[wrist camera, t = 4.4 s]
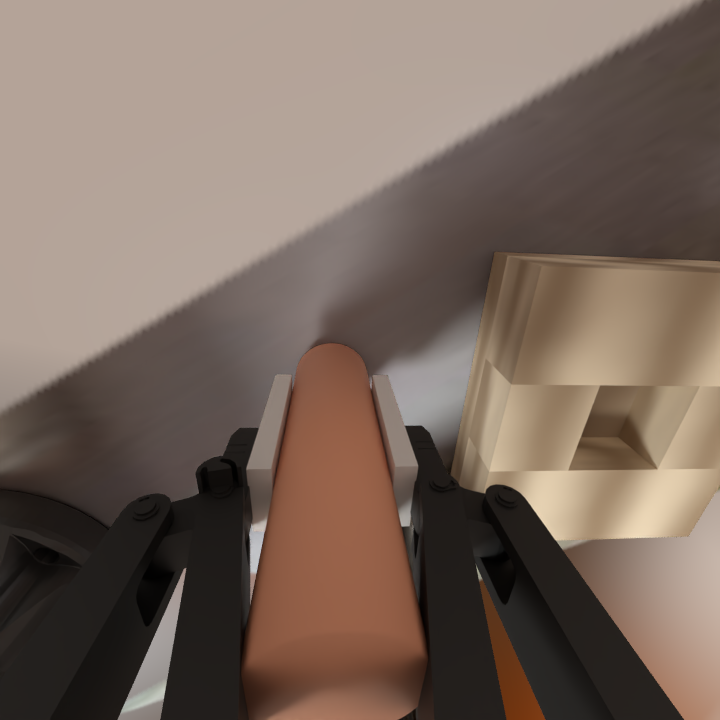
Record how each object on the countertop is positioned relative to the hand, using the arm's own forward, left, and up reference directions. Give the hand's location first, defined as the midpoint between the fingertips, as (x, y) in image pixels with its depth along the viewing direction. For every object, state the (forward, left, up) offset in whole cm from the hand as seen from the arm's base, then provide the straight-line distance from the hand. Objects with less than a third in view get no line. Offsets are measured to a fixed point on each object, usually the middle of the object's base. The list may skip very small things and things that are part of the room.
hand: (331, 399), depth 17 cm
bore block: (+15, -1, -3) cm, 16 cm away
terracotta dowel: (0, 0, -3) cm, 3 cm away
